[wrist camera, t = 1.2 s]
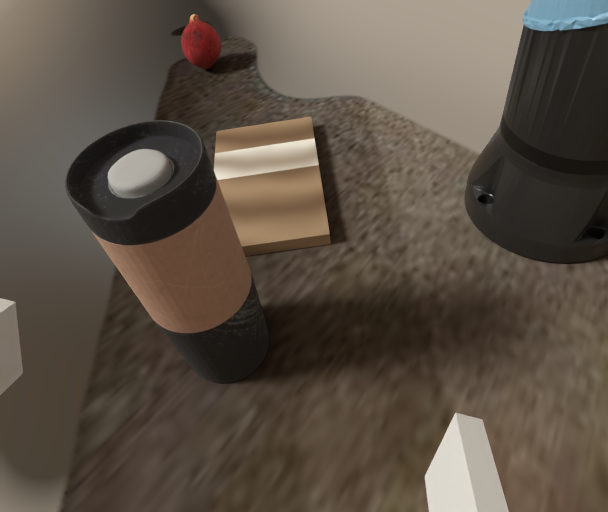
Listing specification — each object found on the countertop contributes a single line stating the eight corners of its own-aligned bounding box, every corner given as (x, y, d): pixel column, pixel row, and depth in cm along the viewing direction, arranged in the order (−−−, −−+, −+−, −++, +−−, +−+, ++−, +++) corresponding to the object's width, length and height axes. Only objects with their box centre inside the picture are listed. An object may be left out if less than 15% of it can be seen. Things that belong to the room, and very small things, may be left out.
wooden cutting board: (219, 141, 58) (216, 131, 57) (312, 126, 58) (311, 116, 57) (211, 260, 45) (207, 251, 44) (330, 244, 45) (329, 234, 44)
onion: (223, 76, 69) (208, 22, 63) (187, 80, 69) (168, 26, 63) (228, 57, 72) (215, 4, 66) (194, 61, 73) (177, 9, 67)
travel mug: (240, 292, 42) (163, 102, 27) (291, 345, 38) (234, 156, 23) (170, 343, 40) (41, 165, 25) (216, 406, 36) (96, 238, 20)
